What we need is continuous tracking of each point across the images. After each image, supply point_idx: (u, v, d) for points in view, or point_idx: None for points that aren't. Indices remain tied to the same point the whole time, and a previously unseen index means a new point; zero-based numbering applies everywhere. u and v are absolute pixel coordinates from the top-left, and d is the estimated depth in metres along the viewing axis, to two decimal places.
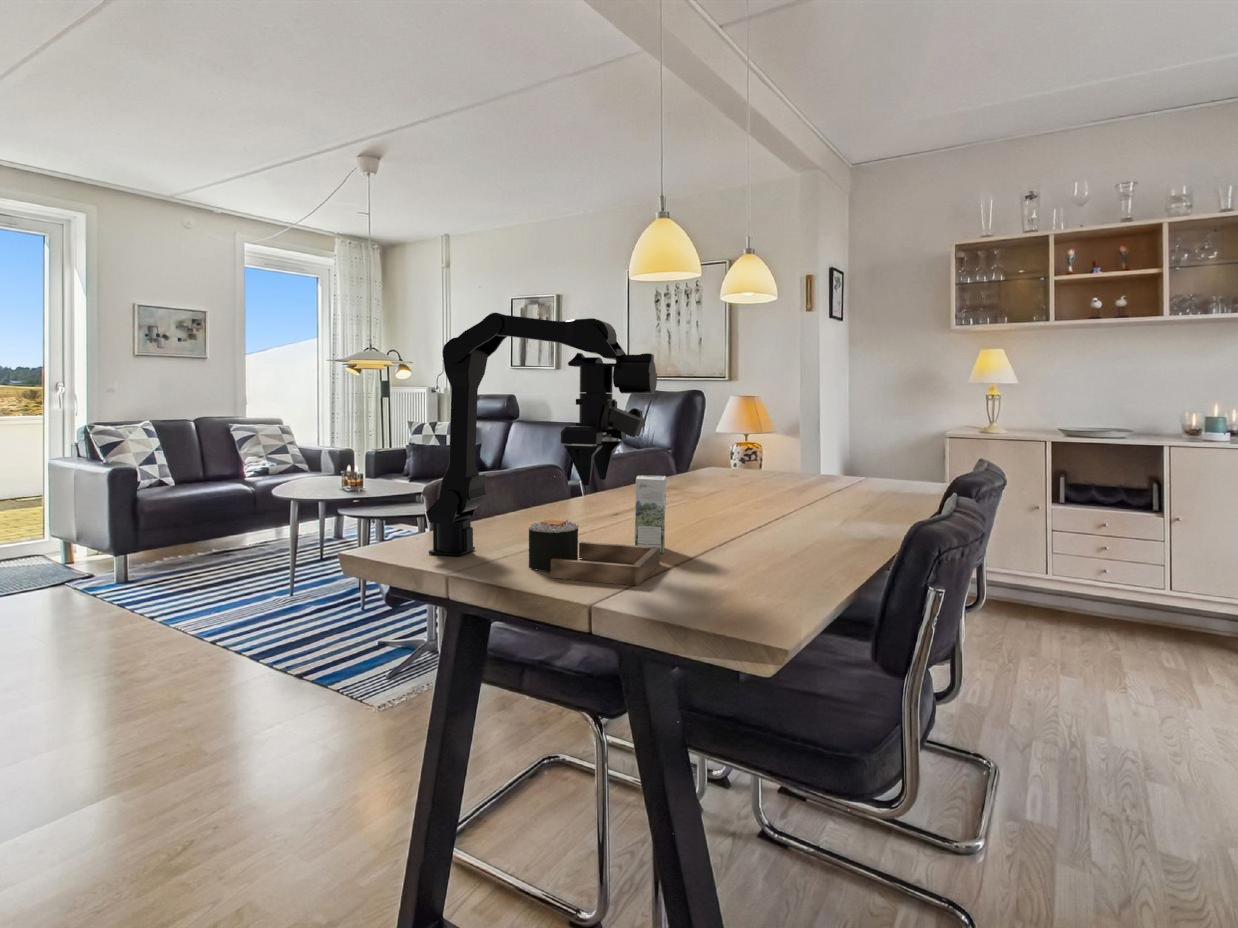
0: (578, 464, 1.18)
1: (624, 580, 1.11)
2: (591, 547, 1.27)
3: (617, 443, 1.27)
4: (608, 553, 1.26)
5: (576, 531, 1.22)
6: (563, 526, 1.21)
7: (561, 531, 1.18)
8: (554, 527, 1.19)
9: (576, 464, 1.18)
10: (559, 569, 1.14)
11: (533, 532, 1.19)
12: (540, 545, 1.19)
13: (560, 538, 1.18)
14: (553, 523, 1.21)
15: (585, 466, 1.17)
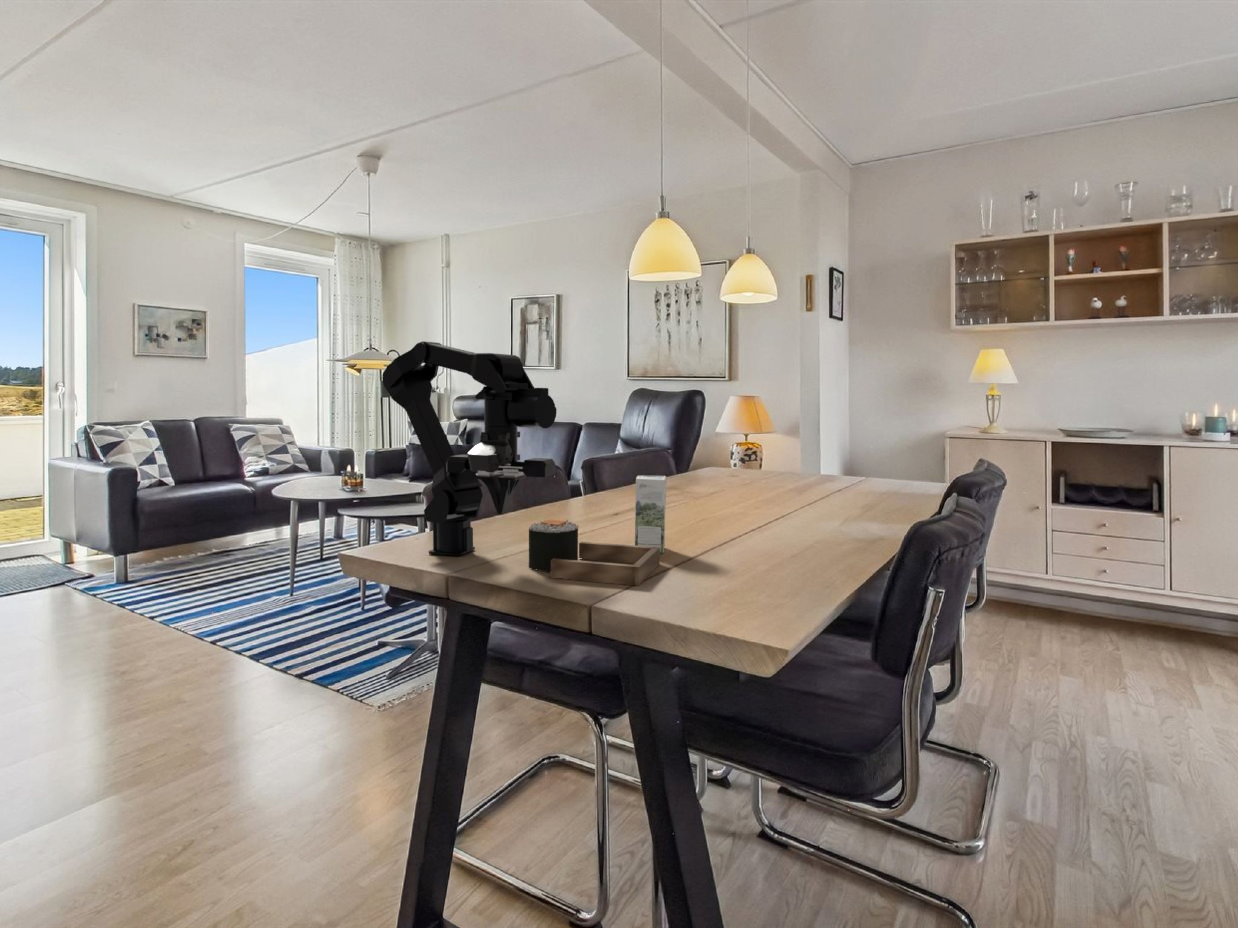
0: None
1: (624, 580, 1.11)
2: (591, 547, 1.27)
3: (498, 478, 1.21)
4: (608, 553, 1.26)
5: (576, 531, 1.22)
6: (563, 526, 1.21)
7: (561, 531, 1.18)
8: (554, 527, 1.19)
9: None
10: (559, 569, 1.14)
11: (533, 532, 1.19)
12: (540, 545, 1.19)
13: (560, 538, 1.18)
14: (553, 523, 1.21)
15: None
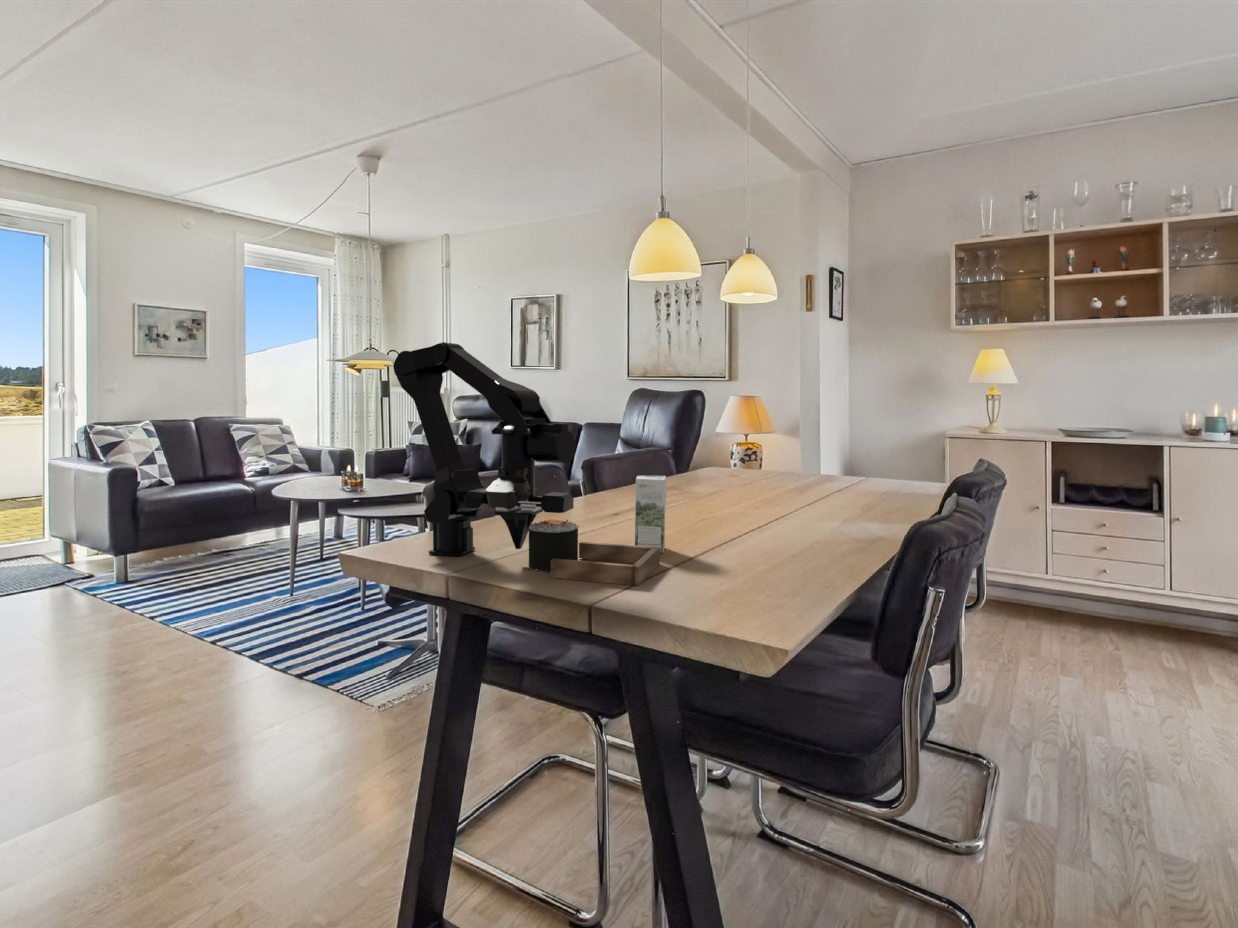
0: None
1: (624, 580, 1.11)
2: (591, 547, 1.27)
3: (516, 513, 1.21)
4: (608, 553, 1.26)
5: (576, 531, 1.22)
6: (563, 526, 1.21)
7: (561, 531, 1.18)
8: (554, 527, 1.19)
9: None
10: (559, 569, 1.14)
11: (533, 532, 1.19)
12: (540, 545, 1.19)
13: (560, 538, 1.18)
14: (553, 523, 1.21)
15: None
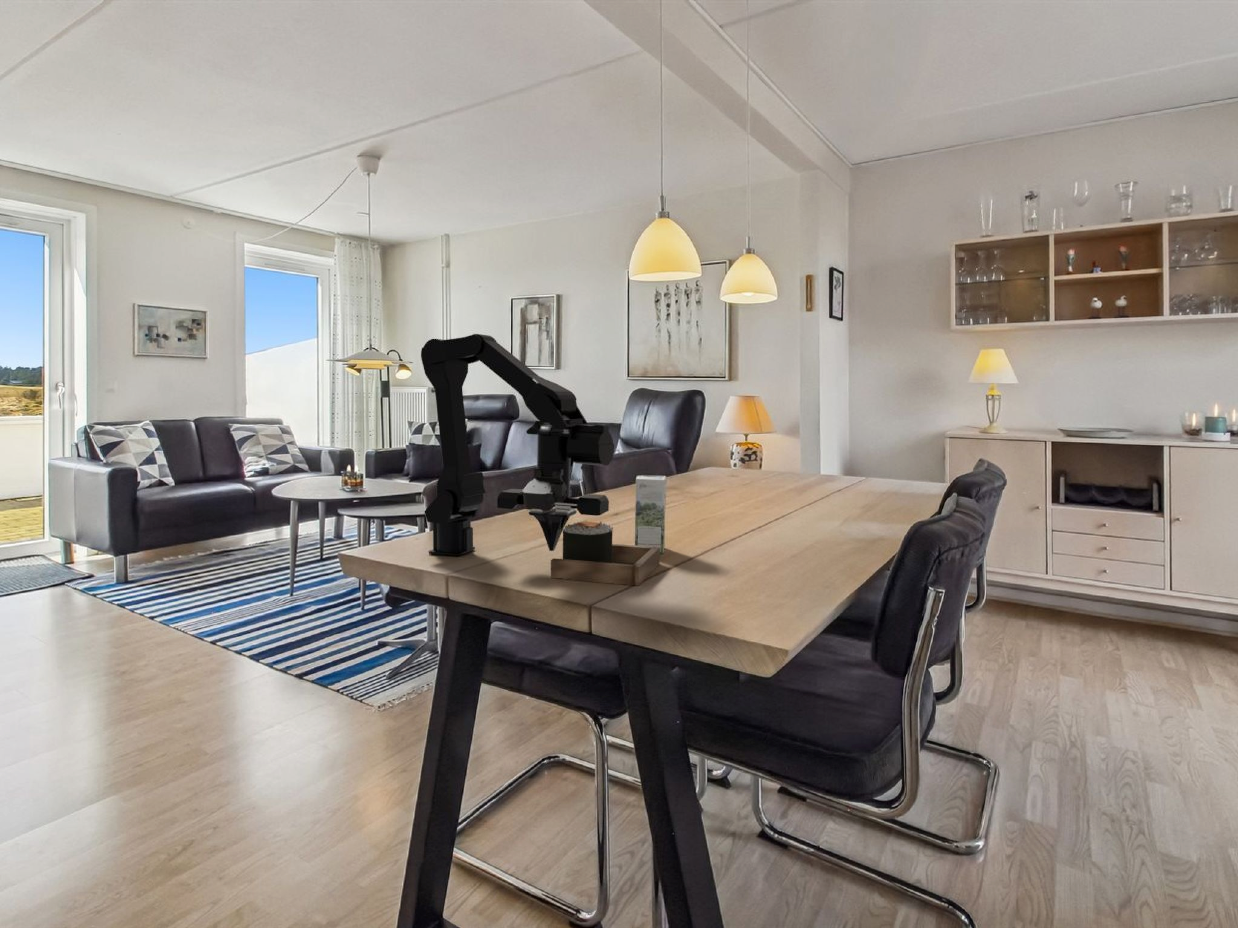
0: None
1: (624, 580, 1.11)
2: None
3: None
4: None
5: (611, 533, 1.20)
6: (598, 528, 1.19)
7: (597, 533, 1.17)
8: (589, 529, 1.18)
9: None
10: (559, 569, 1.14)
11: (568, 534, 1.18)
12: (575, 547, 1.17)
13: (596, 540, 1.16)
14: (588, 525, 1.19)
15: None
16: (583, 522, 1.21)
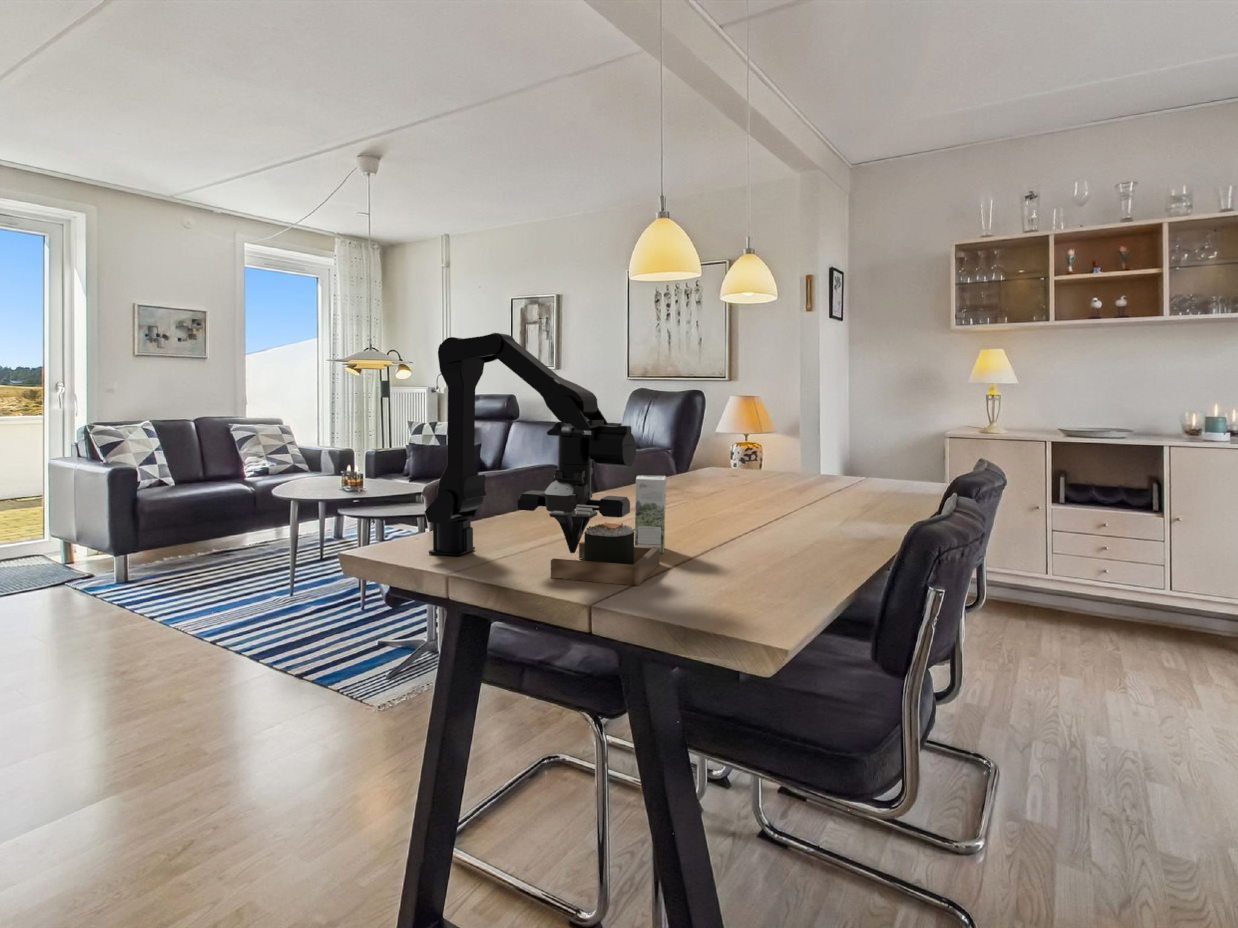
0: None
1: (624, 580, 1.11)
2: None
3: None
4: None
5: (633, 535, 1.19)
6: (620, 530, 1.18)
7: (619, 535, 1.15)
8: (611, 531, 1.17)
9: None
10: (559, 569, 1.14)
11: (590, 536, 1.17)
12: (598, 549, 1.16)
13: (618, 542, 1.15)
14: (610, 527, 1.18)
15: None
16: (604, 524, 1.20)
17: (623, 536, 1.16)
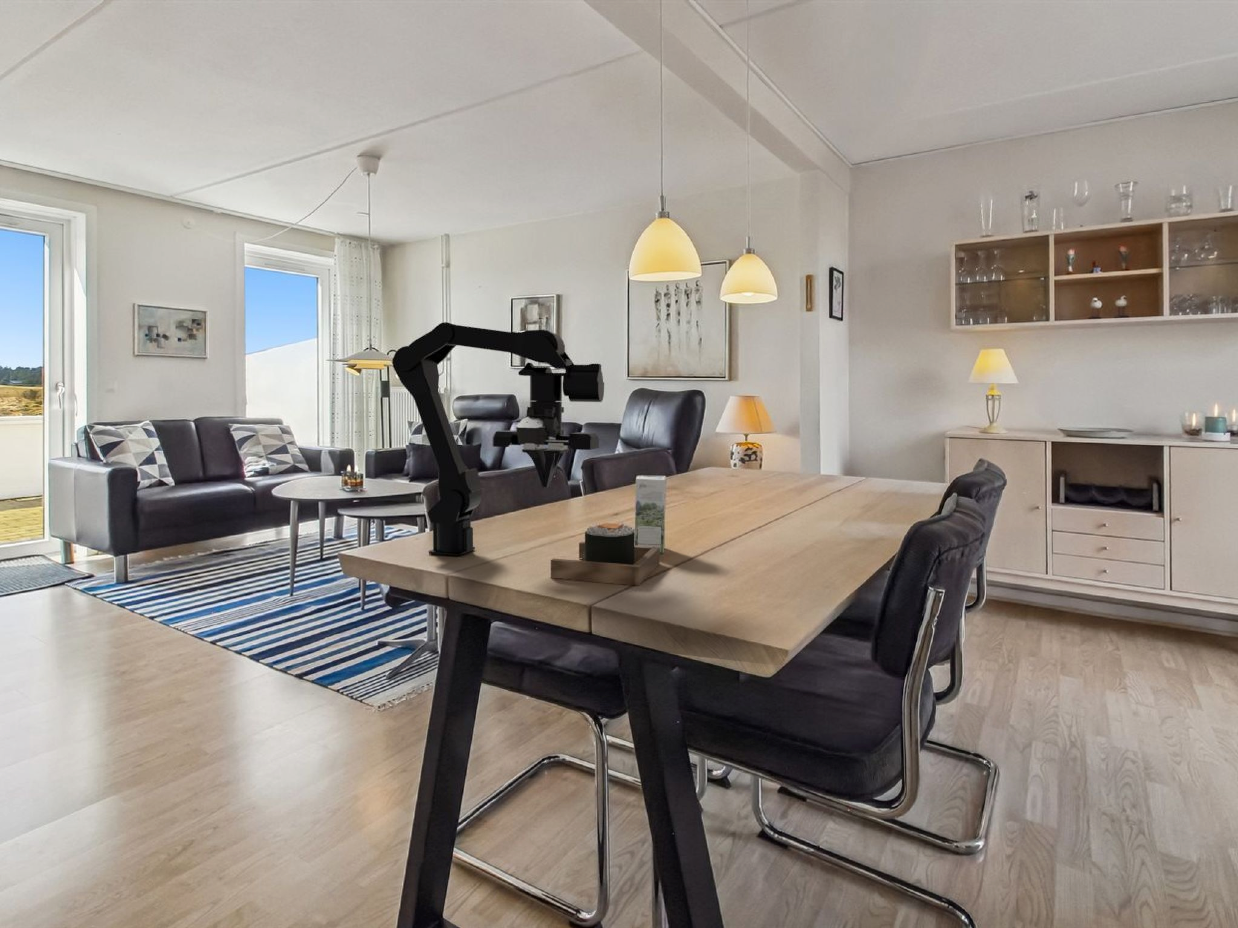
0: None
1: (624, 580, 1.11)
2: None
3: (544, 452, 1.25)
4: None
5: (633, 535, 1.19)
6: (620, 530, 1.18)
7: (619, 535, 1.15)
8: (612, 531, 1.17)
9: None
10: (559, 569, 1.14)
11: (590, 536, 1.17)
12: (598, 549, 1.16)
13: (618, 542, 1.15)
14: (610, 527, 1.18)
15: None
16: (605, 524, 1.20)
17: (623, 536, 1.16)
